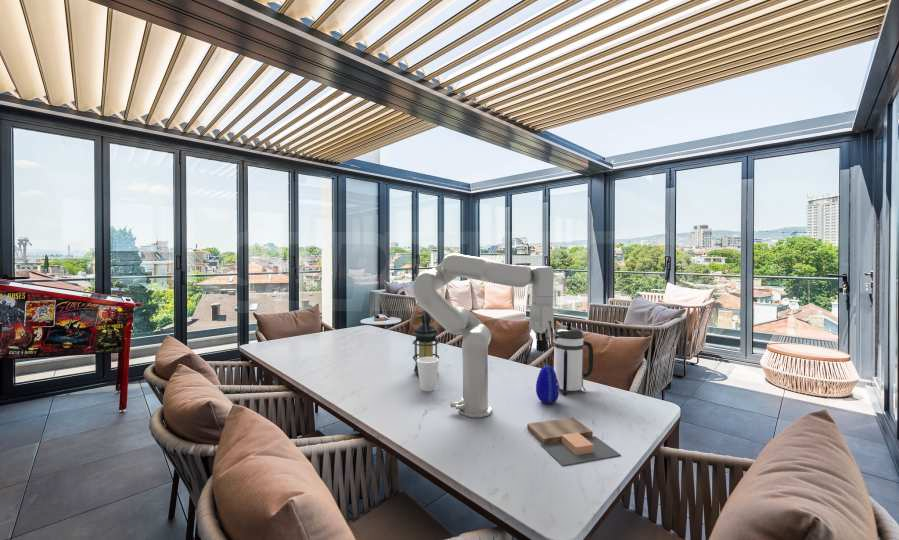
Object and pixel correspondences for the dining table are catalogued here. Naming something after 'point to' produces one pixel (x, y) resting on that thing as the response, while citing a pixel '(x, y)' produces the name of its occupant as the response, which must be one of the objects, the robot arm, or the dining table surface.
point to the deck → (557, 429)
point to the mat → (569, 457)
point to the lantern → (425, 339)
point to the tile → (577, 443)
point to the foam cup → (427, 372)
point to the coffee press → (570, 358)
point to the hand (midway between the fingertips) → (541, 350)
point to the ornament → (547, 385)
